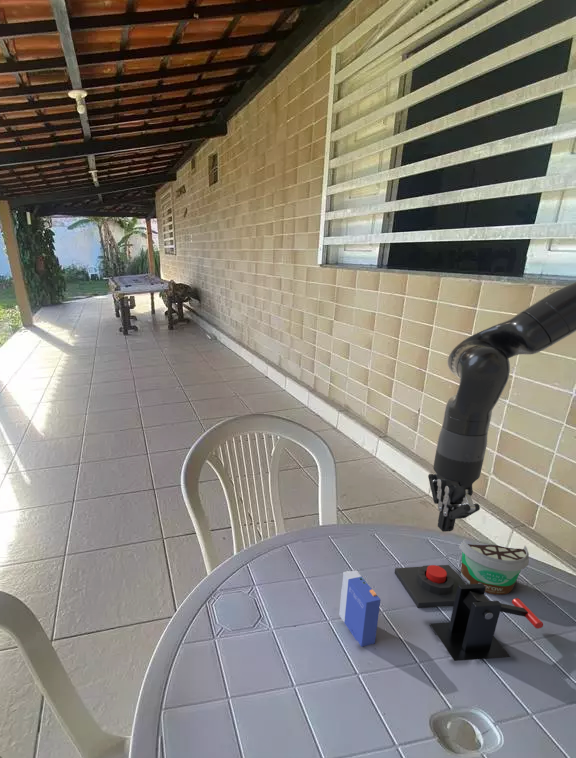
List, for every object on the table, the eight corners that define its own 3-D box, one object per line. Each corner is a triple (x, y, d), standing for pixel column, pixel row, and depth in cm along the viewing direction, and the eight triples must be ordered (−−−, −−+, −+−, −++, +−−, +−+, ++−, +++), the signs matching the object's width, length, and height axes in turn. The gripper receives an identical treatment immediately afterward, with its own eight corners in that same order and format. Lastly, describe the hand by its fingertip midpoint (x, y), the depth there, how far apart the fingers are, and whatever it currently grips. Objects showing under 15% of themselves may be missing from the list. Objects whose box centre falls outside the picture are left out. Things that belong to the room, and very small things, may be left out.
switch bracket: (479, 624, 81) (492, 576, 77) (510, 662, 74) (525, 611, 69) (428, 628, 81) (437, 579, 77) (453, 666, 74) (465, 615, 69)
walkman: (374, 648, 78) (381, 597, 73) (360, 651, 77) (366, 601, 73) (351, 614, 85) (356, 567, 81) (338, 617, 85) (342, 570, 80)
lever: (515, 606, 78) (522, 596, 77) (539, 631, 73) (546, 621, 72) (457, 594, 77) (463, 584, 76) (477, 618, 71) (484, 608, 71)
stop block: (447, 572, 94) (450, 557, 93) (476, 607, 85) (480, 592, 83) (393, 575, 94) (395, 561, 93) (417, 611, 85) (420, 596, 83)
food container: (462, 597, 87) (471, 558, 84) (452, 576, 93) (460, 539, 89) (531, 606, 84) (543, 566, 81) (517, 584, 90) (528, 545, 86)
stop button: (439, 571, 90) (440, 564, 89) (449, 583, 86) (450, 576, 86) (422, 572, 90) (423, 565, 89) (431, 584, 86) (433, 577, 86)
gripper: (506, 466, 71) (485, 549, 78) (458, 435, 84) (444, 509, 90) (462, 469, 71) (445, 552, 78) (420, 437, 84) (409, 511, 90)
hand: (444, 529), depth 84 cm, fingers closed
